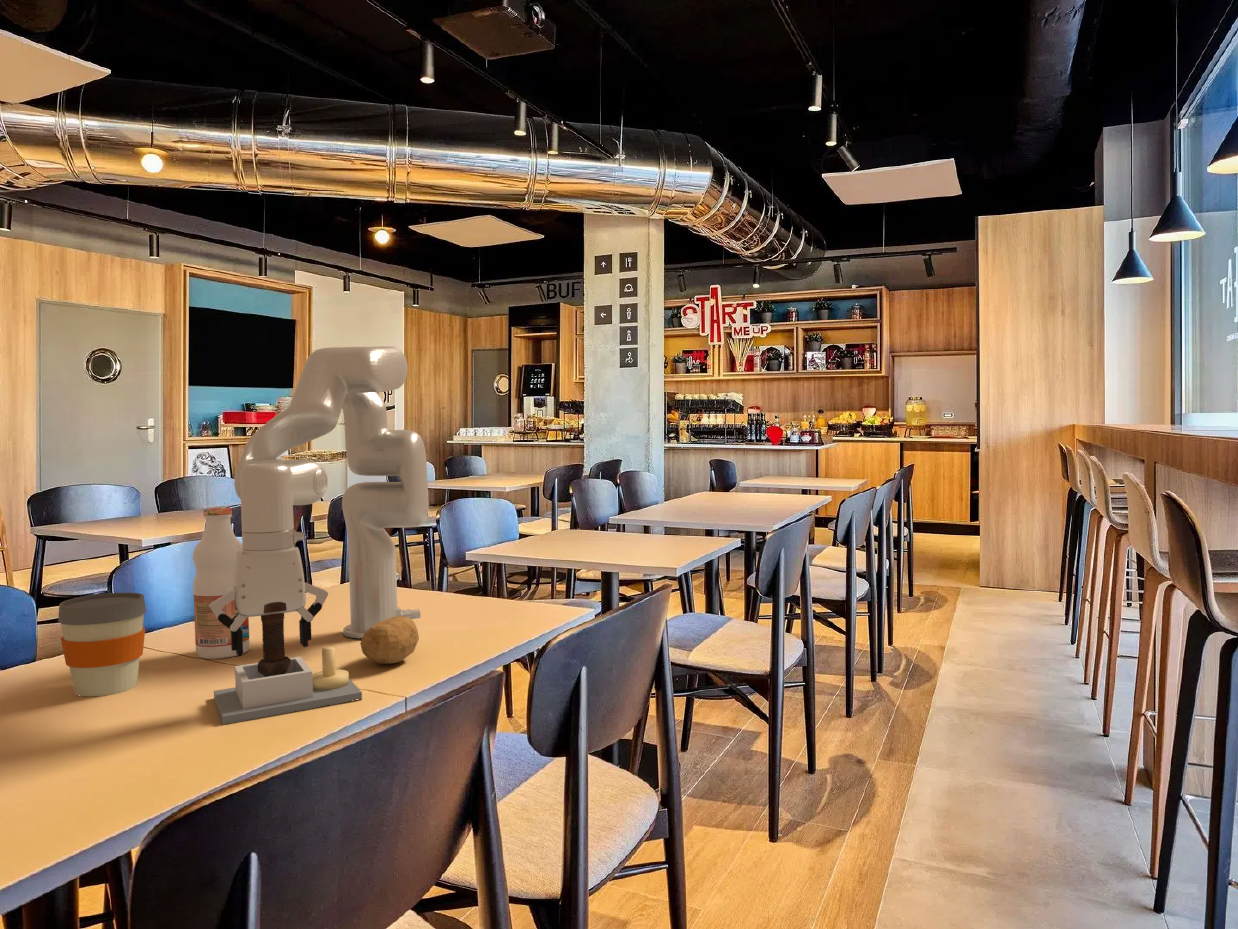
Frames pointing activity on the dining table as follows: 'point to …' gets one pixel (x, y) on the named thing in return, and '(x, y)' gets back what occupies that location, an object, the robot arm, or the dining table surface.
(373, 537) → the robot arm
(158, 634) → the dining table surface
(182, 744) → the dining table surface
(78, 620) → the reusable coffee cup
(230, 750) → the dining table surface
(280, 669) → the bolt
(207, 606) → the fruit juice
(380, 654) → the potato
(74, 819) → the dining table surface
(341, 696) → the board
